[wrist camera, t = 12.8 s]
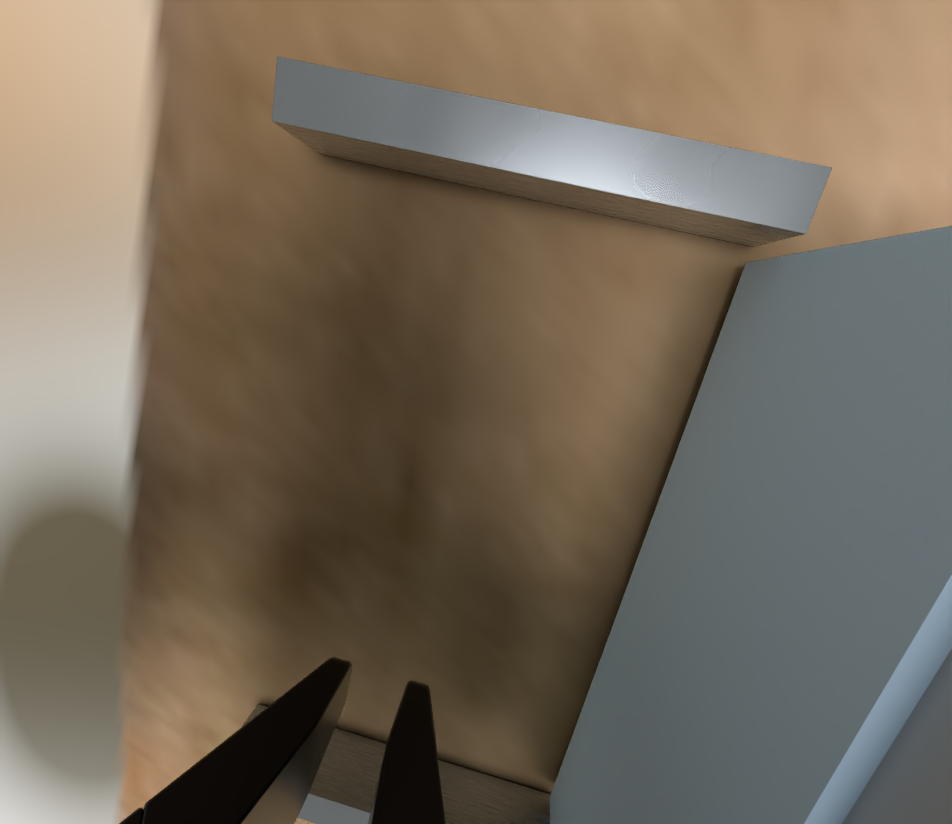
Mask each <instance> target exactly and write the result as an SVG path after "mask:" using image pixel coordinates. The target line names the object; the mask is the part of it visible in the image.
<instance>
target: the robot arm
mask: <svg viewBox="0 0 952 824" xmlns="http://www.w3.org/2000/svg"><path fill="white" fill-rule="evenodd" d="M351 672H352V663H351V662H350V661H347V660H343V659H340V658H337V657H332V658H330V659H328V660H327V661H326V662H324V663H323V664H322V665H321V666H319V667H318V668H317V669H316V670H314V671H313V672H312V673H310V674H309V675H308V676H307V677H305V678H304V679H303V680H302V681H300V682H299V683H298V684H296V685H295V686H294V687H293V688H291V689H290V690H289V691H288V692H286V693H285V694H284V695H283V696H281V697H280V698H279V699H277V700H276V701H275V702H274V703H272V704H271V705H270V706H269V707H267V708H266V709H265V710H263V711H262V712H261V713H260V714H258V715H257V716H256V717H255V718H253V719H252V720H251V721H249V722H248V723H247V724H246V725H244V726H243V727H242V728H241V729H239V730H238V731H237V732H235V733H234V734H233V735H232V736H230V737H229V738H228V739H227V740H225V741H224V742H223V743H221V744H220V745H219V746H218V747H216V748H215V749H214V750H213V751H211V752H210V753H209V754H207V755H206V756H205V757H204V758H202V759H201V760H200V761H199V762H197V763H196V764H195V765H193V766H192V767H191V768H190V769H188V770H187V771H186V772H185V773H183V774H182V775H181V776H179V777H178V778H177V779H176V780H174V781H173V782H172V783H171V784H169V785H168V786H167V787H166V788H164V789H163V790H162V791H160V792H159V793H158V794H157V795H155V796H154V797H153V798H152V799H150V800H149V801H148V802H147V803H146V804H145V806H144V810H143V808H138V809H137V810H136V811H135V812H133V813H132V814H131V815H130V816H128V817H127V818H126V819H124V820H123V821H122V822H121V823H119V824H294V823H295V821H296V819H297V817H298V815H299V813H300V811H301V809H302V807H303V805H304V803H305V800H306V798H307V796H308V793H309V791H310V789H311V786H312V784H313V782H314V779H315V777H316V774H317V772H318V769H319V767H320V764H321V762H322V759H323V757H324V754H325V752H326V749H327V747H328V744H329V742H330V739H331V737H332V734H333V732H334V729H335V727H336V724H337V722H338V719H339V717H340V714H341V712H342V709H343V707H344V704H345V701H346V697H347V692H348V687H349V682H350V677H351ZM368 824H446V820H445V812H444V804H443V795H442V787H441V779H440V770H439V762H438V754H437V745H436V737H435V729H434V720H433V712H432V704H431V695H430V689H429V686H428V685H426V684H423V683H420V682H416V681H413V680H410V681H408V683H407V685H406V688H405V691H404V693H403V696H402V699H401V702H400V705H399V708H398V711H397V713H396V716H395V719H394V722H393V725H392V728H391V731H390V734H389V737H388V740H387V743H386V748H385V752H384V756H383V760H382V765H381V769H380V773H379V778H378V782H377V786H376V791H375V795H374V799H373V804H372V808H371V812H370V816H369V821H368Z"/></svg>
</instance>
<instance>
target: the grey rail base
mask: <svg viewBox="0 0 952 824" xmlns="http://www.w3.org/2000/svg"><path fill="white" fill-rule="evenodd" d="M272 121H273V122H274V123H276V124H277V125H279V126H280V127H282V128H283V129H285V130H286V131H288V132H289V133H291V134H292V135H294V136H295V137H297V138H298V139H300V140H301V141H303V142H304V143H305V144H307V145H308V146H310V147H311V148H313V149H314V150H316V151H317V152H319V153H320V154H324V155H329V156H334V157H338V158H343V159H347V160H352V161H357V162H361V163H366V164H371V165H375V166H380V167H385V168H389V169H394V170H399V171H403V172H408V173H413V174H417V175H422V176H426V177H431V178H436V179H440V180H445V181H450V182H454V183H459V184H464V185H468V186H473V187H478V188H482V189H487V190H492V191H496V192H501V193H505V194H510V195H515V196H519V197H524V198H529V199H533V200H538V201H543V202H547V203H552V204H557V205H561V206H566V207H571V208H575V209H580V210H584V211H589V212H594V213H598V214H603V215H608V216H612V217H617V218H622V219H626V220H631V221H636V222H640V223H645V224H650V225H654V226H659V227H663V228H668V229H673V230H677V231H682V232H687V233H691V234H696V235H701V236H705V237H710V238H715V239H719V240H724V241H729V242H733V243H738V244H742V245H747V246H752V247H754V246H758V245H762V244H766V243H770V242H774V241H778V240H783V239H787V238H791V237H795V236H799V235H803V234H806V233H807V230H808V228H809V225H810V222H811V220H812V217H813V215H814V212H815V210H816V207H817V205H818V202H819V200H820V197H821V195H822V192H823V190H824V187H825V185H826V182H827V179H828V177H829V174H830V172H831V169H832V168H831V167H826V166H821V165H816V164H811V163H806V162H801V161H796V160H791V159H786V158H781V157H776V156H771V155H766V154H761V153H756V152H751V151H746V150H741V149H736V148H731V147H726V146H721V145H716V144H711V143H706V142H701V141H696V140H691V139H686V138H681V137H676V136H671V135H666V134H661V133H656V132H651V131H646V130H642V129H637V128H632V127H627V126H622V125H617V124H612V123H607V122H602V121H597V120H592V119H587V118H582V117H577V116H572V115H567V114H562V113H557V112H552V111H547V110H542V109H537V108H532V107H527V106H522V105H517V104H512V103H507V102H502V101H497V100H492V99H487V98H482V97H477V96H472V95H467V94H462V93H457V92H452V91H447V90H442V89H437V88H432V87H427V86H422V85H417V84H412V83H407V82H402V81H397V80H392V79H387V78H382V77H377V76H372V75H367V74H362V73H357V72H352V71H347V70H342V69H337V68H332V67H327V66H322V65H317V64H312V63H307V62H302V61H297V60H292V59H287V58H282V57H277V68H276V79H275V91H274V103H273V114H272ZM266 708H267V707H266V706H263V705H259V704H257V706H256V707H255V709H254V710H253V712H252V713H251V715H250V716H249V718H248V719H247V720H246V722H245V723H244V725H246V724H247V723H248V722H249V721H251V720H252V719H253V718H255V717H256V716H257V715H258V714H260V713H261V712H262V711H263V710H265V709H266ZM244 725H243V726H244ZM243 726H242V727H243ZM385 748H386V744H385V743H382V742H379V741H376V740H373V739H369V738H366V737H363V736H360V735H356V734H353V733H350V732H347V731H343V730H340V729H337V728H335V729H334V732H333V734H332V737H331V739H330V742H329V744H328V747H327V749H326V752H325V754H324V757H323V759H322V762H321V764H320V767H319V769H318V772H317V774H316V777H315V779H314V782H313V784H312V786H311V789H310V791H309V793H308V796H307V798H306V800H305V803H304V805H303V807H302V809H301V811H300V813H299V815H298V818H301V819H304V820H308V821H311V822H314V823H317V824H368V821H369V816H370V812H371V808H372V804H373V799H374V795H375V791H376V786H377V782H378V778H379V773H380V769H381V765H382V760H383V756H384V752H385ZM438 762H439V770H440V779H441V787H442V795H443V804H444V812H445V820H446V824H550V794H547V793H544V792H541V791H537V790H534V789H531V788H528V787H524V786H521V785H518V784H515V783H511V782H508V781H505V780H502V779H499V778H495V777H492V776H489V775H486V774H482V773H479V772H476V771H473V770H469V769H466V768H463V767H460V766H457V765H453V764H450V763H447V762H444V761H440V760H438Z"/></svg>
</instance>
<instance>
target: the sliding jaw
mask: <svg viewBox="0 0 952 824" xmlns="http://www.w3.org/2000/svg"><path fill="white" fill-rule="evenodd" d="M550 824H952V226H948V227H943V228H937V229H931V230H926V231H920V232H914V233H909V234H903V235H897V236H892V237H886V238H881V239H875V240H869V241H864V242H858V243H852V244H847V245H841V246H836V247H830V248H824V249H819V250H813V251H807V252H802V253H796V254H790V255H785V256H779V257H774V258H768V259H762V260H757V261H751V262H746V264H745V267H744V270H743V272H742V275H741V278H740V280H739V283H738V286H737V289H736V291H735V294H734V297H733V300H732V302H731V305H730V308H729V310H728V313H727V316H726V319H725V321H724V324H723V327H722V329H721V332H720V335H719V338H718V340H717V343H716V346H715V349H714V351H713V354H712V357H711V359H710V362H709V365H708V368H707V370H706V373H705V376H704V379H703V381H702V384H701V387H700V389H699V392H698V395H697V398H696V400H695V403H694V406H693V408H692V411H691V414H690V417H689V419H688V422H687V425H686V428H685V430H684V433H683V436H682V438H681V441H680V444H679V447H678V449H677V452H676V455H675V457H674V460H673V463H672V466H671V468H670V471H669V474H668V477H667V479H666V482H665V485H664V487H663V490H662V493H661V496H660V498H659V501H658V504H657V506H656V509H655V512H654V515H653V517H652V520H651V523H650V526H649V528H648V531H647V534H646V536H645V539H644V542H643V545H642V547H641V550H640V553H639V556H638V558H637V561H636V564H635V566H634V569H633V572H632V575H631V577H630V580H629V583H628V585H627V588H626V591H625V594H624V596H623V599H622V602H621V605H620V607H619V610H618V613H617V615H616V618H615V621H614V624H613V626H612V629H611V632H610V634H609V637H608V640H607V643H606V645H605V648H604V651H603V654H602V656H601V659H600V662H599V664H598V667H597V670H596V673H595V675H594V678H593V681H592V683H591V686H590V689H589V692H588V694H587V697H586V700H585V703H584V705H583V708H582V711H581V713H580V716H579V719H578V722H577V724H576V727H575V730H574V733H573V735H572V738H571V741H570V743H569V746H568V749H567V752H566V754H565V757H564V760H563V762H562V765H561V768H560V771H559V773H558V776H557V779H556V782H555V784H554V787H553V790H552V792H551V795H550Z"/></svg>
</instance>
